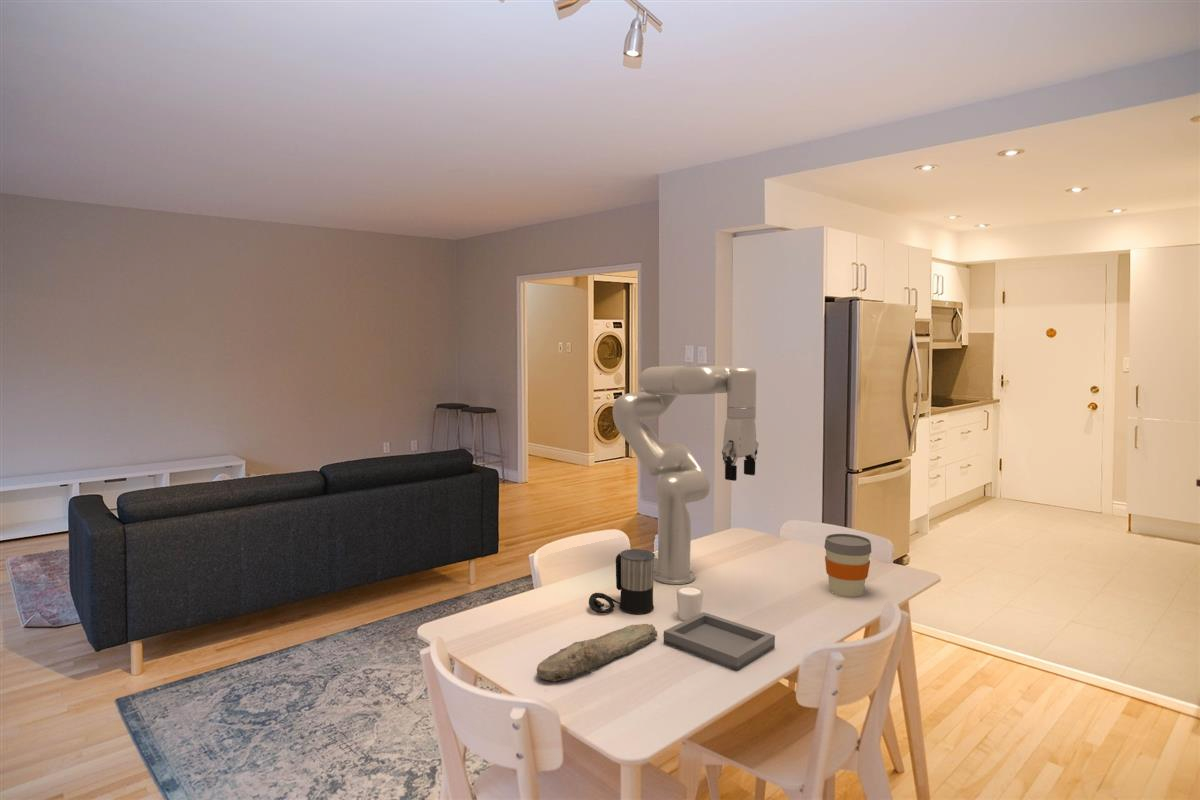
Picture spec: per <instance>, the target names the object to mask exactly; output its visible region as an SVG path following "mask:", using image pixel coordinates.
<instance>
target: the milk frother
mask: <svg viewBox="0 0 1200 800" xmlns="http://www.w3.org/2000/svg"><path fill="white" fill-rule="evenodd" d="M654 558H656V555H655V553H654V552H653V551H651V550H648V549H644V548H643V549H642V548H627V549H625V550H622V551H620V553H618V554H617V556H616V557H615V583H616V584H615V587H616V590H618V591H620V600H619V601H617V600H615V599H614V598H613V597H611V596H610V595H607V594H605V593H603V592H593V593H592V594H591V595H590V597H589V598H588V605H589V608H590V609H591V610H592V611H593V612H596V613H598V614H609V613H612V612H613V611H614V610H615V603H616V604H618V607H619V609H620V611H622V612H624V613H626V614H631V615H643V614H649V613H651V612H653V611H654V609H655V606H654V578H653V574H654V571H655V567H654ZM599 599H602V600H605V601H607V603H608V604H609V607H608V608H604V607H605V603H603V602H601V601H600V600H599Z"/></svg>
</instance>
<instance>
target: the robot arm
mask: <svg viewBox="0 0 1200 800" xmlns="http://www.w3.org/2000/svg"><path fill="white" fill-rule="evenodd" d="M756 371H757V370H756V369H754V368H753V367H745V366H742V367H741V366H740V367H739V366H738V367H737V366H732V365H731V366H730V365H706V366H685V365H669V366H667V365H666V366H663V365H662V366H650V367H647V368H646V369H644V370H643V371H642V372H641V373H640V375H639V377H638V385H639V387H640V389H641V390H642V392H641V391H639V392H629V393H625V394H623V395H622V394H621V395H620V396H618V397H617V398H616V399H615V400H614V403H613V405H612V419H613V422H614V425H615V427H616V429H617V431H618V432H619V434H620V435H621V436H622V438H624V440H625V441H626V443H628V445H629V446H630V448H631V450H633V453H634V454H635V456H636V457H637V459H638V460H639V462H640V463H641V466H642V467H643V468H644V470H645V471H646V472H647V474H648V475H650V476H653V477H659V476H660V478H659V479H658V480H657V481H656V483H655V497H656V501H657V512H658V517H657V518H658V523H657V524H658V525H657V526H658V529H657V530H658V538H657V540H658V542H657V544H658V545H657V551H658V552H657V553H658V554H657V558H656V557H654V574H653V580H655V581H657V582H660V583H662V582H663V584H668V585H684V584H686V585H687V584H690V583H692V582H694V581H695V579H696V573H695V572H694V571H692V570H691V543H692V542H691V539H692V538H691V537H692V536H691V535H692V534H691V533H692V531H691V530H692V529H691V527H692V526H691V523H692V522H691V521H692V520H691V515H690V512H689V510H688V508H687V505H686V504H690V503H694V502H697V501H699V502H700V501H701V500H704V499H706V497H707V496H709V493H710V492H711V491H710V490H711V485H710V479H709V478H708V476H707V473H706V472H705V471H704V469H703V468H702V466H701V465H700V463H699V462H698V460H697V459H696V458H695V455H694V454H693V453H692V452H691V451H690V449H689V448H688V447H687V446H686V445H684V444H682V443H681V442H680V443H679V442H669V443H668V442H667V443H665V442H663V441H661V440H660V438H659V437H658V436H657V435H656V432H654V430H653V429H652V428H651V427H650V426H648V425H647V424H646V423H644V422H643V421H642V420H650V419H656V418H657V419H658V418H660V417H661V416H662V415H664V414H665V412H666V411H667V410H668V409H669V407H670V406H671V405H672V404H673V402H674V401H675V400H676V398H677V397H678V396H685V395H711V394H712V395H715V394H726V397H727V398H726V420H725V423H724V424H725V425H724V429H723V430H724V431H723V432H724V433H723V443H722V444H723V447H722V449H721V454H722V461H723V465H724V479H725V481H737V479H738V478H737V477H738V476H737V474H738V472H737V471H738V470H737V469H738V465H736V463H737V461H738V458H739V459H740V458H745V459H743V474H744V475H747V476H756V460H757V455H758V452H759V451H758V449H759V445H760V444H759V442H758V441H757V429H756V428H757V427H756V420H757V419H756V417H757V416H756V414H757V413H756V411H757V372H756Z"/></svg>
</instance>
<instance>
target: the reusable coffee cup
mask: <svg viewBox="0 0 1200 800" xmlns="http://www.w3.org/2000/svg"><path fill="white" fill-rule="evenodd" d="M824 549H825V556H824V562H825V570H826V571H825V572H826V574H827V575H828V576H827V578H828V585H829V586H828V587H829V591H830V592H831V593H832V592H833V593H832V594H834V595H836V594H837V595H836V596H839V595H840V597H844V596H845V597H846V598H858V597H861V596H863V595H864V589H865V583H866V579H867V578H868V577H869V569H870V565H871V561H870V556H871V554H872V541H871V539H869V538H867V537H864V536H862V535H857V534H852V533H851V534H850V533H833V534H828V535H826V536H825V540H824Z"/></svg>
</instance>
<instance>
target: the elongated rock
mask: <svg viewBox="0 0 1200 800" xmlns="http://www.w3.org/2000/svg"><path fill="white" fill-rule="evenodd" d="M656 637H658V631H657V629H656V627H655V626H654V625H653V624H649V623H642V624H641V623H639V624H630V625H627V626H625V627H623V628H620V629H617V630H613V631H610V632H608V633H606V634H603V635H600V636H598V637H595V638H591V639H587V640H585V639H584V640H581V641H575V642H573V643H571V644H570V645H568V646H566V647H564V648H561V649H559V650H558V652H555V653H553V654H550V655H549V656H548V657H547V658H545V659H543V660H542V661H541V662H539V663H538V664H537V667H536V674H537V676H538V677H539V678H540V679H542V680H546V681H552V682H556V681H562V680H566V679H571V678H576V677H578V676H581V675H583V674H585V673H586V674H587V672H591V671H592V672H593V671H595V670H597V669H598V667H600V666H601V667H602V666H603V665H605V664H607V663H609V662H611V661H613V659H615V658H616V657H621V656H626V654H627V653H629V652H632V651H634V650H638V649H640V648H642V647H644V645H645V646H647V645H648V644H649V643H652V642H653V641H654V639H655V638H656ZM594 669H595V670H594ZM592 672H591V673H592Z"/></svg>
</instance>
